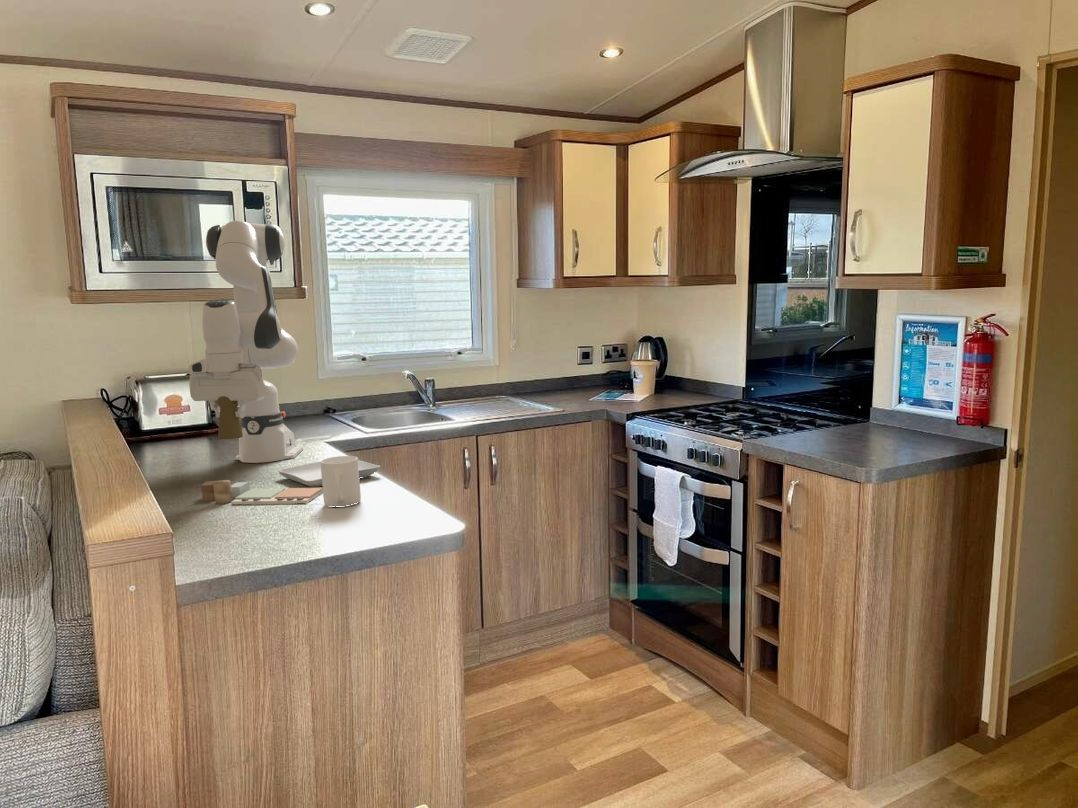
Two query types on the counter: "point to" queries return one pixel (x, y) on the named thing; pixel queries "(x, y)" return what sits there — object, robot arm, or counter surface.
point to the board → (278, 496)
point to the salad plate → (312, 472)
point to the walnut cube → (208, 490)
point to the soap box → (239, 488)
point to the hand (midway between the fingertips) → (230, 418)
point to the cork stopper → (222, 491)
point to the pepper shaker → (228, 419)
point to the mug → (340, 480)
